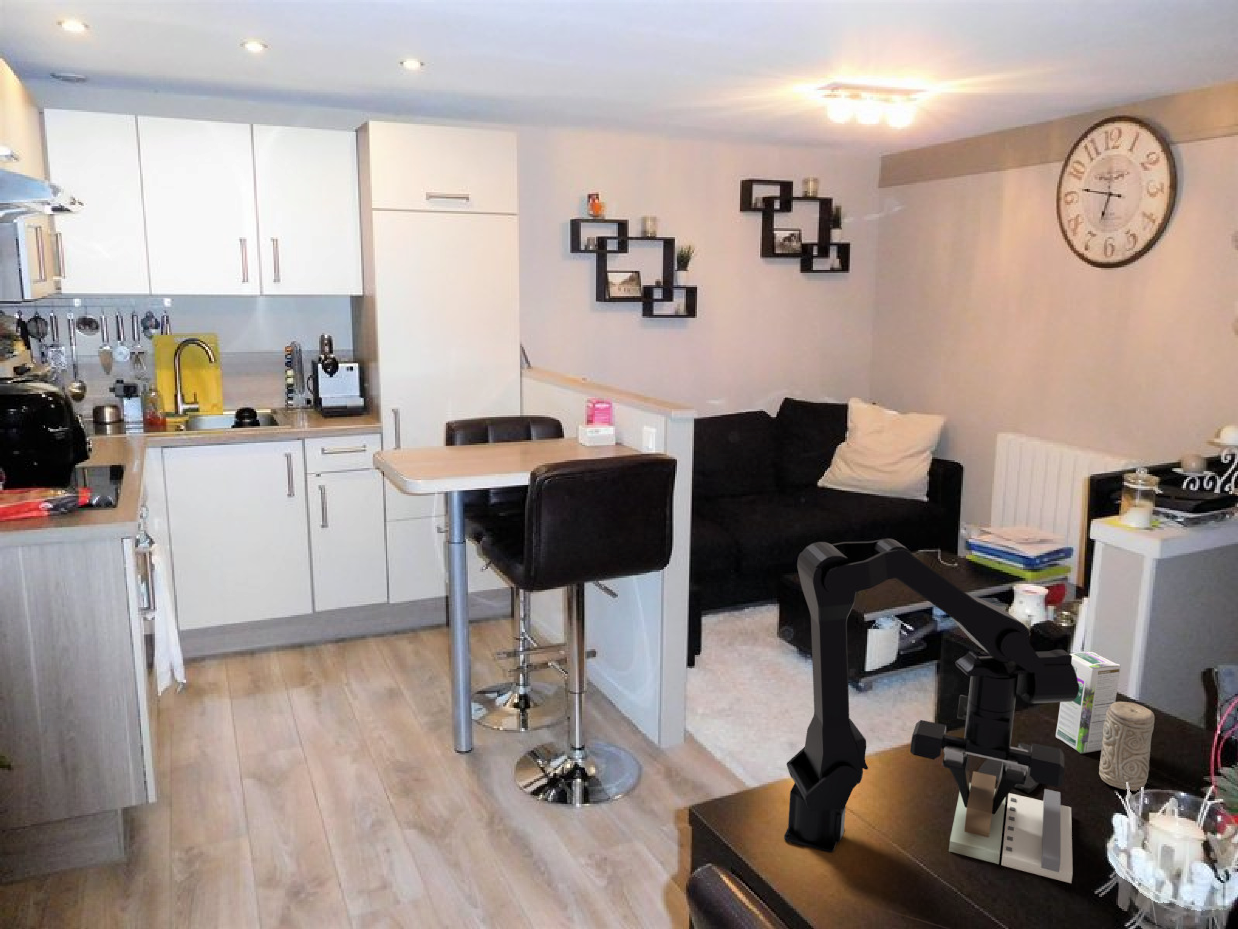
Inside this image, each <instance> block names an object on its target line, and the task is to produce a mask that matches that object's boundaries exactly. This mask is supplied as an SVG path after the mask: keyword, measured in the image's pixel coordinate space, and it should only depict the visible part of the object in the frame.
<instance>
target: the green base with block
mask: <svg viewBox="0 0 1238 929" xmlns="http://www.w3.org/2000/svg"><path fill="white" fill-rule="evenodd" d="M996 783H997V782H996V776H992V775H988V774H983V773H979V772H978V771H974V770H973V771H972V775H971V781H970V782H969V784H970V792H969V798H968V804H967V808H965V806H964V803H963V800H962V796H961V793H960V791H959V792H958V798H957V804H956V808H955V812H954V817H953V818H954V819H953V823H952V828H951V832H950V837H949V847H948V852H949V853H955V854H958V855H961V856H967V857H970V858H974V859H977V860H981V861H985V862H989V863H994V864H997V865H999V864H1000V857H1001V856H1000V854H1001V846H1002V837H1003V835H1002V834H1003V826H1004V818H1005V809H1006V798H1007V796H1006V797H1005V799H1004V800H1003V802H1002V803H1001V805H1000V807H999V808H998V810H997V812H996V813H995V814H992V807H993V799H994V795H995V791H996Z"/></svg>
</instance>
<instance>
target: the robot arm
mask: <svg viewBox="0 0 1238 929" xmlns="http://www.w3.org/2000/svg"><path fill="white" fill-rule="evenodd" d="M796 562H797V563H796V567H797V571H798V576H799V581H800V586H801V590H802V592H803V595H804V596H803V597H804V598H805V601H806V604H807V607H808V610H809V614H810V626H811V627H810V628H811V629H810V630H811V633H810V634H811V655H812V659H811V660H812V682H813V683H812V685H813V688H812V689H813V710H814V711H813V716H812V718H811V720H810V723H809V725H808V726H807V728H806V729H807V730H806V737H805V743H804V744H805V745H804V747H803V748H802V749H800V751H798V752H797V753H796V754H795V755H794V756H792V757H791V759H789V761H787V762H786V768H787V770H788V774H789V776H790V778H792V780H793V782H794V783H793V785H792V787H791V789H790V792H789V804H788V805H789V806H788V821H787V822H788V824H787V826H788V827H787V829H786V830H785V832H784V835H783V839H784V841H786V842H789V843H794V844H795V845H800V846H804V847H807V848H811V849H814V850H818V851H821V852H826V853H829V854H831V853H834V850H836V849H835V848H836V846H837V843H840V842H841V840H842V838H843V836H844V832H845V821H846V807H847V806H846V805H847V803H848V801H849V799H850V796H851V795H852V792H853V790H854V789H855V787H856V786H857V785H858V784H861V781H862V779H863V775H864V770H868V769H869V767H868V765H867V762H866V751H867V739H866V737H865V736H864V735H863V734H862V733H861V731H860V730H859V728H858V727H857V726H856V724H855V723H854V722H853V720H852V719H851V718H850V706H849V705H850V698H849V697H850V696H849V693H850V692H849V690H850V689H849V661H848V660H849V659H848V658H849V656H848V617H849V615H850V613H851V612H852V609H853V607H854V605H855V603H856V597H857V592H861V591H865V590H870V589H872V588H875V587H876V586H878V585H880V584H883V583H884V582H885V581H888V580H892V579H896V580H898V581H899V582H901V583H902V584H904V585H905V586H907V587H908V588H909V589H911V590H912V591H913V592H915V593H916V594H918V595H919V596H920V597H922V598H924V599H925V600H926V601H928V602H929V603H931V604H932V605H934V606H935V607H936V608H937V609H939V610H941V611H942V612H943V613H945V615H948V616H949V617H950V618H951V619H952V620H953V621H954V622H955V623H956V625H957V626H958V627H959V628H960V630H962V632H964V634H965V635H967V637H968V638H969V639H970V640H971V641H972V642H973V643H975V645H977V646H978V647H980V648H981V649H982V650H983V651H984V652H986V653H987V654H988V655H989V656H978V655H977V654H975V653H974V652H973V651H970V650H969V651H968V652H967V654H966V655H964V656H962V657H960V658H959V659H957V660H956V661H955V666H956V667H957V668H958V669H960V670H961V671H962V672H963V673H964V674H965V675H966V676H968V677H970V680H969V689H968V691H969V692H968V696H967V695H963V694H960V695H959V699H958V708H957V715H956V718H957V719H959V720H960V719H961V720H965V727H964V728H965V729H964V736H963V737H958V736H955V735H954V736H953V735H950V734H946V733H947V725H946V724H943V723H938V722H933V721H927V720H923V719H920V720H918V721H917V722H916V724H915V726H914V729H913V731H912V735H911V741H910V751H909V753H911V755H913V756H916V757H921V758H925V759H930V760H936V759H937V758H940V757H941V753H942V750H943V753H944V756H943V760H942V766H943V767H944V768H945V769H949V770H950V772H951V774H952V776H953V778H954V780H955V783H956V784H957V786H958V789H959V792H960V793H961V796H962V800H963V803H964V806H965V808H967V804H968V798H969V792H970V784H969V783H970V756H973V757H978V758H983V759H986V760H987V759H991V760H996V761H1000V762H1003V764H1002V768H1001V772H1000V776H999V780H998V783H997V784H996V786H995V789H996V791H995V795H994V799H993V807H992V814H995V813H996V812H997V810H998V808H999V807H1000V805H1001V803H1002V802H1003V800H1004V799H1005V797H1006V798H1007V797H1008V794H1009V793H1010V792H1011V791H1012V790H1013V789H1015V788H1014V787H1015V786H1016V785H1017V784H1021V785H1024V784H1026V774H1027V771H1028V768H1030V776H1031V777H1032V779H1033V780H1034V781H1035V782H1037V783H1039V784H1041V785H1046V786H1051V787H1056V788H1059V787H1060V788H1061V787H1063V784H1064V776H1065V753H1063V751H1062V749H1061V748H1058V747H1054V746H1048V745H1045V744H1044V745H1043V744H1038V743H1034V742H1032V743H1031V746H1032V749H1031V753H1030V752H1028V750H1024V749H1020V748H1017V747H1015V746H1011V744H1012V739H1013V729H1014V715H1015V708H1016V700H1017V699H1016V697H1017V695H1018V696H1020V698H1021V699H1022V700H1023V701H1024V702H1025V703H1027V704H1045V703H1047V704H1049V703H1060V702H1072V701H1074V700H1075V699H1076V697H1077V695H1078V692H1079V683H1078V680H1077V675H1076V672H1075V669H1074V667H1073V666H1072V664H1071V661H1072V656H1071V655H1070V654H1071V653H1068V652H1067V651H1065V650H1064V649H1053V650H1049V651H1045V650H1044V651H1035V649H1034V647H1033V646H1032V644H1030V643H1031V634H1032V633H1031V631H1030V629H1029V628H1028V627H1027V626H1026V624H1025V623H1023V622H1022V621H1021V620H1019V619H1017V618H1016V617H1014V616H1013V615H1011V614H1010V613H1008V612H1007V611H1005V610H1004V609H1003V608H1001V607H999V606H998V605H996V604H993V603H991V602H990V601H987V600H985V599H982V598H980V597H977V596H974V595H972V594H969V593H968V592H965V591H963V590H962V589H961V588H959V587H958V586H956V584H953V583H952V582H951V581H949V580H948V579H946V578H945V577H944V576H943V575H941V574H940V573H939V572H937V571H935V570H934V569H933V568H931V567H930V566H929V565H927V564H926V563H924V562H923V561H921V560H920V559H919V558H917V557H916V556H915V555H913V553H912V552H911V550H909V549H908V548H907V547H906V546H905V545H903V544H902V543H900V542H899V541H897V540H895V539H893V538H881V539H877V540H871V541H841V542H837V543H832V544H831V543H829V542H826V541H816V542H813V543H811V544H809V545H807V546H806V547H805V548H804V549H803V550H802V552H800V553H799V555H798V556H797V561H796Z"/></svg>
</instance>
